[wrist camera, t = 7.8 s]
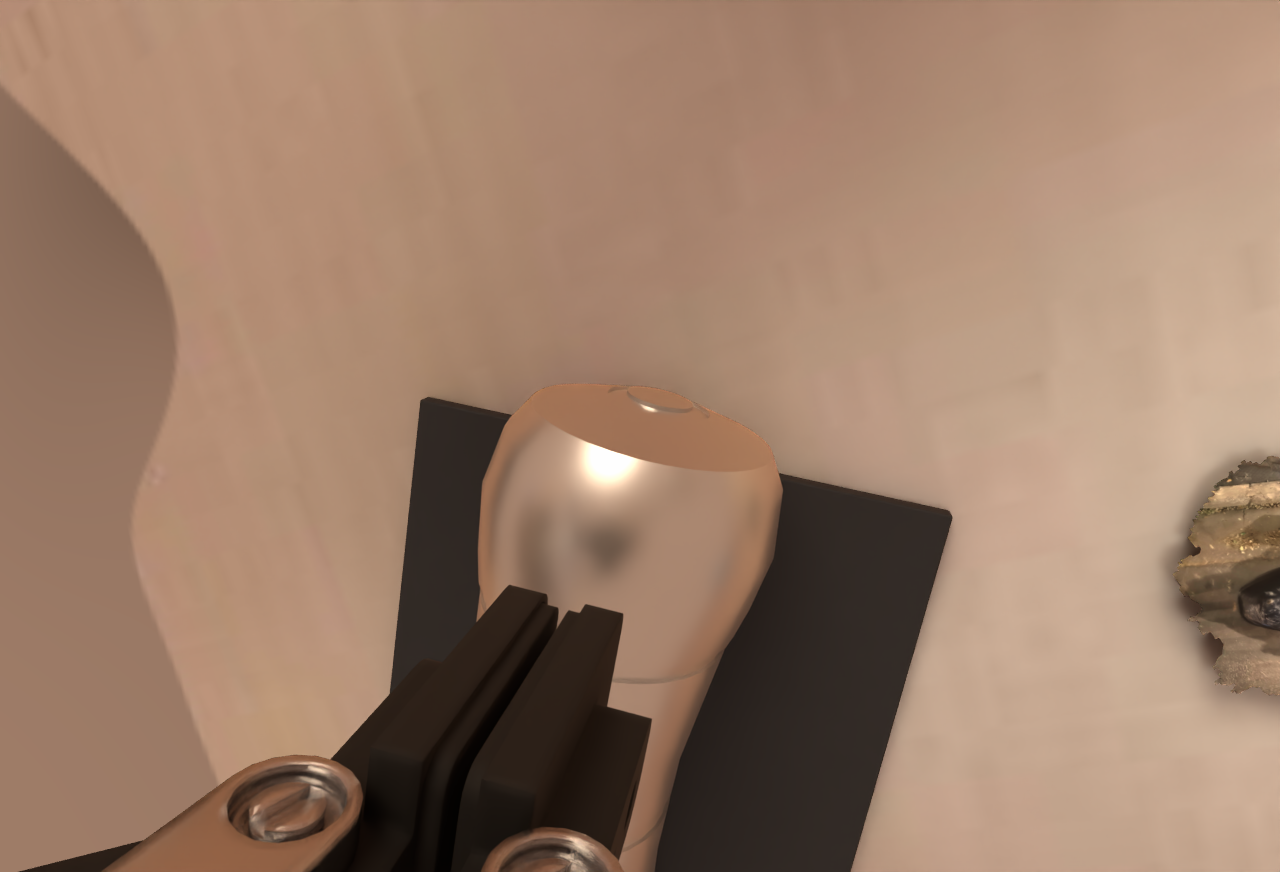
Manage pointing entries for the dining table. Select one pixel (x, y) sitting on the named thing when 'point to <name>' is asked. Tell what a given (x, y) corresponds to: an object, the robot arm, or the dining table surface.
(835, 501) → the mat
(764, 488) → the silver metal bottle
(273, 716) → the dining table surface
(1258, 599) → the mineral rock
